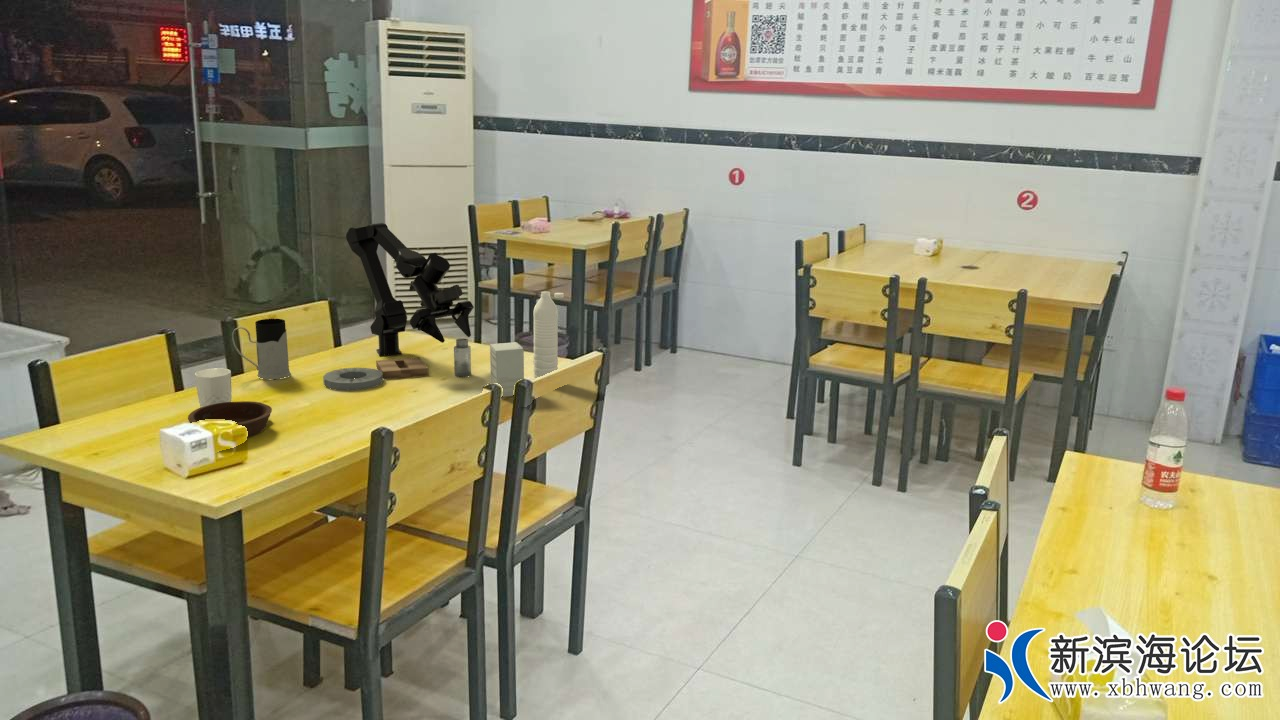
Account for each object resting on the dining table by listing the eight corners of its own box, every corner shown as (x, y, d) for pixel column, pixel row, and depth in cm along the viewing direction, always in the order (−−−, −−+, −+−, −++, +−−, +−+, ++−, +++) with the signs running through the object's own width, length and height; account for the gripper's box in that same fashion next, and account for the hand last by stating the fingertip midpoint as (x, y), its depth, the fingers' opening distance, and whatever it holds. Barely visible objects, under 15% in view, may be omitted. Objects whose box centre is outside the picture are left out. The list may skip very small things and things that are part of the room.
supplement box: (517, 387, 270) (517, 341, 267) (524, 395, 263) (524, 348, 260) (490, 390, 267) (489, 343, 264) (496, 398, 261) (495, 350, 257)
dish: (164, 442, 224) (162, 421, 223) (234, 414, 244) (233, 394, 243) (228, 453, 218) (226, 431, 217) (295, 423, 238) (294, 403, 237)
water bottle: (528, 383, 274) (528, 292, 268) (542, 378, 279) (542, 288, 273) (555, 388, 270) (555, 295, 263) (569, 383, 275) (569, 292, 269)
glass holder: (289, 379, 273) (286, 324, 269) (233, 381, 269) (228, 326, 265) (292, 370, 281) (288, 317, 277) (237, 373, 277) (233, 319, 274)
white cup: (217, 419, 239) (214, 378, 237) (191, 415, 242) (187, 374, 239) (241, 410, 246) (238, 370, 244) (215, 406, 249) (211, 366, 246)
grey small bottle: (452, 373, 282) (452, 338, 279) (468, 372, 283) (468, 337, 281) (456, 378, 278) (455, 342, 275) (472, 376, 279) (472, 341, 277)
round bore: (321, 377, 275) (320, 370, 274) (377, 372, 281) (377, 365, 280) (327, 392, 262) (326, 385, 261) (386, 387, 267) (386, 380, 267)
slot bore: (376, 367, 286) (376, 360, 285) (419, 364, 290) (419, 357, 290) (383, 378, 275) (383, 371, 275) (427, 375, 280) (427, 368, 279)
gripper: (414, 280, 271) (442, 327, 267) (468, 272, 285) (496, 316, 281) (397, 305, 278) (424, 351, 274) (451, 296, 292) (477, 339, 288)
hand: (456, 339), depth 279 cm, fingers open, 9 cm apart
